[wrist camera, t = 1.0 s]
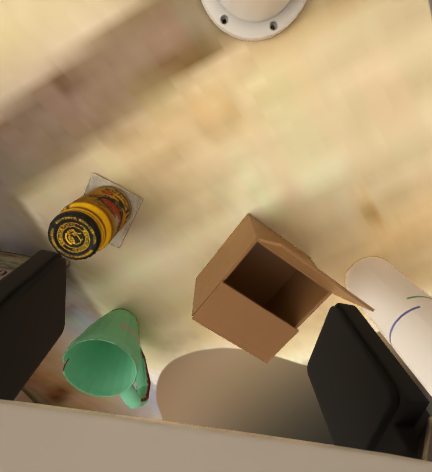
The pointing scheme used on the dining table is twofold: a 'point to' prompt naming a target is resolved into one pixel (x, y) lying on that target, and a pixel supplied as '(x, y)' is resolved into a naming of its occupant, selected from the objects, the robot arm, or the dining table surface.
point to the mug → (109, 360)
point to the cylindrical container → (396, 312)
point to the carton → (255, 292)
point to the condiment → (94, 220)
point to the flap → (313, 272)
